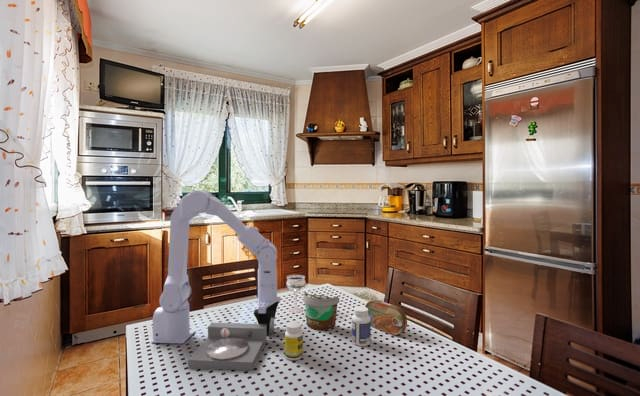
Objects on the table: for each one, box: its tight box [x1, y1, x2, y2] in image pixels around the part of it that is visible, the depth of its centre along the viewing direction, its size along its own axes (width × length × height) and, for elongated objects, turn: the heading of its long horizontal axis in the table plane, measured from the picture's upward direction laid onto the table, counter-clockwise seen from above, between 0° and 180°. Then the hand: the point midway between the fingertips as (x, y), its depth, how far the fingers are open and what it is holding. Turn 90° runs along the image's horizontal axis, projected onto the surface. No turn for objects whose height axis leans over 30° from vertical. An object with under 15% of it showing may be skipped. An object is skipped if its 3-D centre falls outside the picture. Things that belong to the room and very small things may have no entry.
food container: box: [302, 291, 340, 331], centre depth 103 cm, size 12×6×10 cm, turn 68°
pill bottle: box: [351, 306, 372, 347], centre depth 94 cm, size 5×5×10 cm
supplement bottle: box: [284, 321, 304, 361], centre depth 86 cm, size 5×5×8 cm
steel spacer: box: [267, 316, 275, 337], centre depth 99 cm, size 4×4×4 cm
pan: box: [207, 338, 248, 360], centre depth 85 cm, size 10×10×1 cm
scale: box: [187, 322, 268, 371], centre depth 87 cm, size 16×15×5 cm
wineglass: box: [286, 274, 306, 314], centre depth 118 cm, size 7×7×12 cm
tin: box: [364, 299, 408, 336], centre depth 102 cm, size 15×3×8 cm, turn 41°
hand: (267, 328), depth 100 cm, fingers open, 7 cm apart
